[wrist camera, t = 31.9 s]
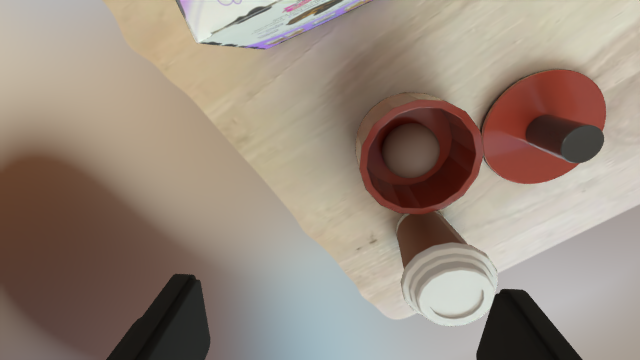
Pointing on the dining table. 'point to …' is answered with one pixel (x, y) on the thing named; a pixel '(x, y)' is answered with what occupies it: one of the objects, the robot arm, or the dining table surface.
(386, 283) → the dining table surface
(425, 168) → the egg
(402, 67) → the dining table surface
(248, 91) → the dining table surface
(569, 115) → the lid
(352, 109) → the dining table surface
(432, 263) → the coffee cup
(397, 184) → the pot
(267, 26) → the candy box
